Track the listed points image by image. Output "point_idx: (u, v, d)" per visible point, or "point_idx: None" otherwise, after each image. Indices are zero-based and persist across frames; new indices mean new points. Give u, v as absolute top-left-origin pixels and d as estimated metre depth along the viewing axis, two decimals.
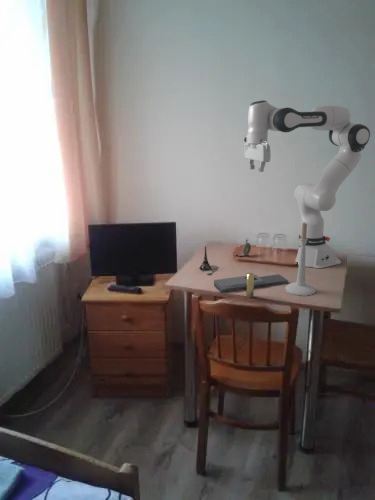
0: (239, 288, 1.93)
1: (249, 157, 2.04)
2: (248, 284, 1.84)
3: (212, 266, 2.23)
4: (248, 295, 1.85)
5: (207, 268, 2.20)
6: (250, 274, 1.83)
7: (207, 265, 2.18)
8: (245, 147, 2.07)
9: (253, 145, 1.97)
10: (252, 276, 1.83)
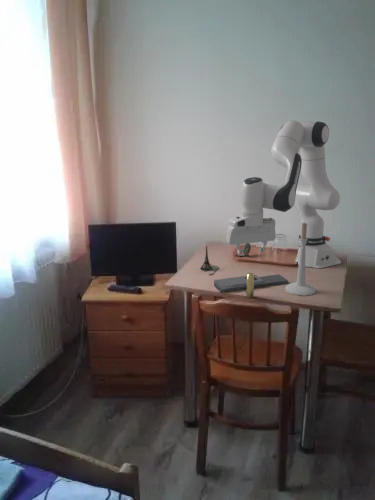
0: (239, 288, 1.93)
1: (243, 241, 1.76)
2: (248, 284, 1.84)
3: (213, 266, 2.23)
4: (248, 295, 1.85)
5: (208, 268, 2.20)
6: (250, 274, 1.83)
7: (208, 265, 2.17)
8: (234, 232, 1.74)
9: (258, 226, 1.75)
10: (252, 276, 1.83)
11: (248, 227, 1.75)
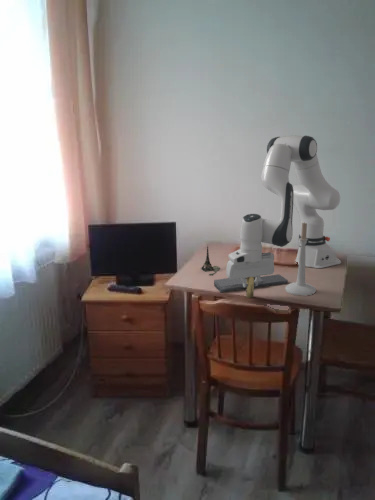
0: (239, 288, 1.93)
1: (243, 276, 1.81)
2: (248, 284, 1.84)
3: (214, 266, 2.22)
4: (248, 295, 1.85)
5: (209, 268, 2.20)
6: None
7: (209, 265, 2.17)
8: (234, 267, 1.78)
9: (257, 261, 1.80)
10: None
11: (247, 262, 1.79)
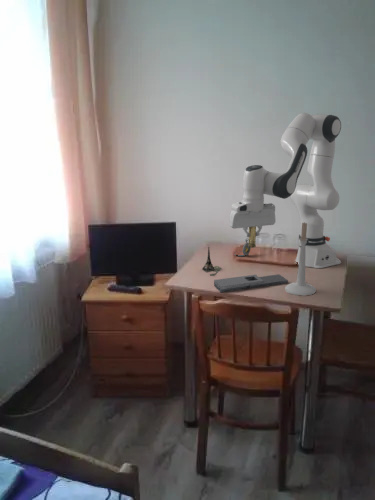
0: (239, 288, 1.93)
1: (245, 225, 1.88)
2: (251, 233, 1.91)
3: (215, 267, 2.22)
4: (250, 245, 1.92)
5: (210, 269, 2.19)
6: None
7: (210, 266, 2.17)
8: (237, 216, 1.85)
9: (259, 211, 1.87)
10: None
11: (250, 212, 1.87)
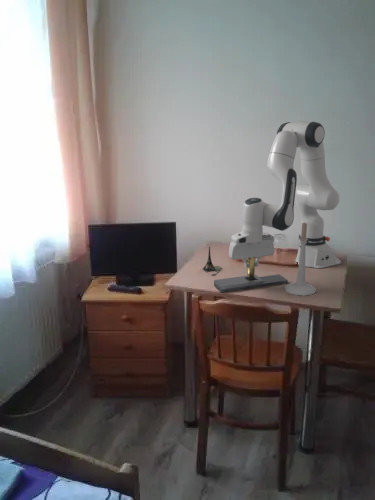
0: (239, 288, 1.93)
1: (244, 256, 1.92)
2: (250, 264, 1.95)
3: (216, 267, 2.22)
4: (249, 275, 1.96)
5: (211, 269, 2.19)
6: None
7: (211, 266, 2.17)
8: (236, 248, 1.90)
9: (258, 243, 1.91)
10: (253, 257, 1.94)
11: (249, 243, 1.91)
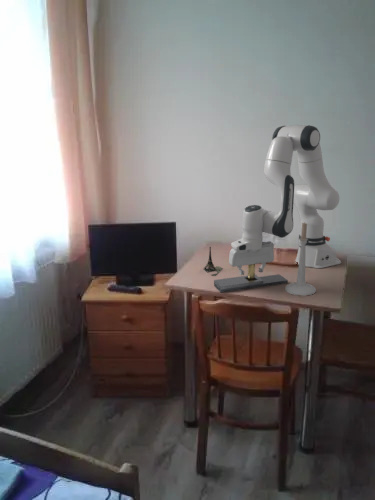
0: (239, 288, 1.93)
1: (244, 263, 1.93)
2: (250, 272, 1.96)
3: (216, 267, 2.22)
4: None
5: (211, 269, 2.19)
6: None
7: (211, 266, 2.16)
8: (236, 255, 1.91)
9: (258, 250, 1.92)
10: (253, 265, 1.95)
11: (249, 250, 1.92)
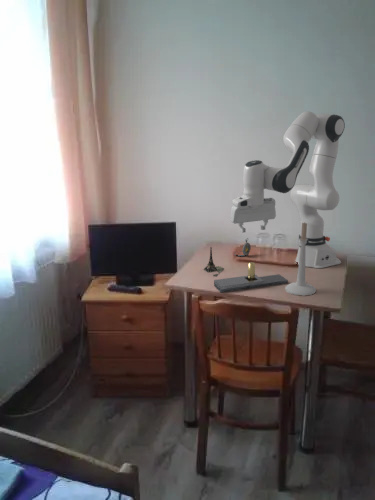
0: (239, 288, 1.93)
1: (246, 220, 1.90)
2: (250, 272, 1.96)
3: (217, 267, 2.21)
4: None
5: (212, 269, 2.19)
6: (251, 263, 1.96)
7: (212, 266, 2.16)
8: (238, 212, 1.88)
9: (259, 206, 1.89)
10: (253, 265, 1.95)
11: (250, 207, 1.89)
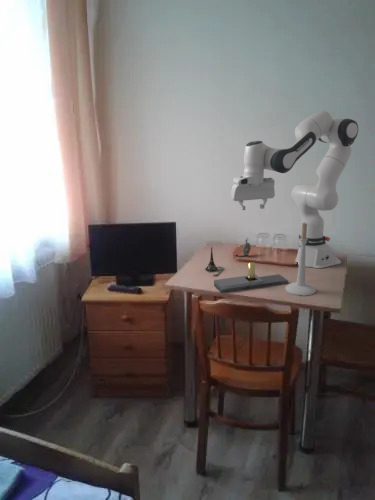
0: (239, 288, 1.93)
1: (246, 198, 1.99)
2: (250, 272, 1.96)
3: (218, 267, 2.21)
4: None
5: (213, 269, 2.19)
6: (251, 263, 1.96)
7: (213, 266, 2.16)
8: (238, 189, 1.96)
9: (259, 185, 1.98)
10: (253, 265, 1.95)
11: (250, 185, 1.97)
